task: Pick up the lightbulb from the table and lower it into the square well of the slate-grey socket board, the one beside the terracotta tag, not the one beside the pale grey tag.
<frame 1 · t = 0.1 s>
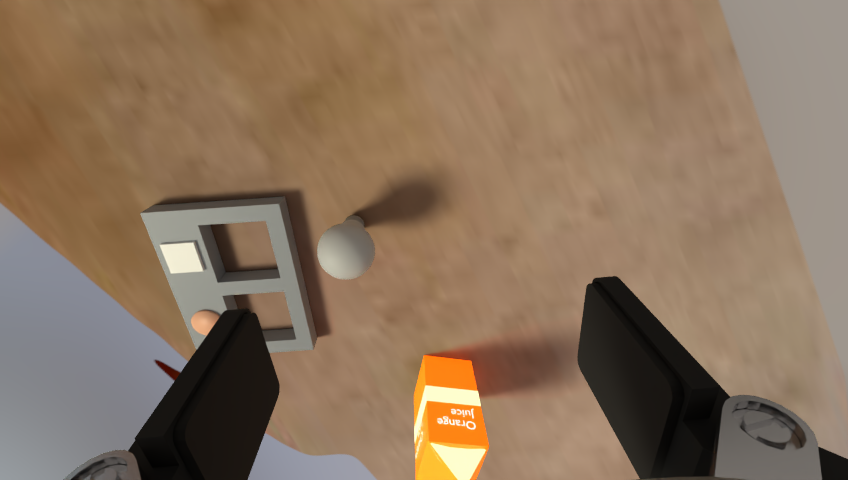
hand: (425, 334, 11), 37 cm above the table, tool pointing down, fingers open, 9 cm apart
socket board: (242, 277, 52), on the table
orange juice: (441, 377, 62), on the table
lightbulb: (355, 221, 49), on the table
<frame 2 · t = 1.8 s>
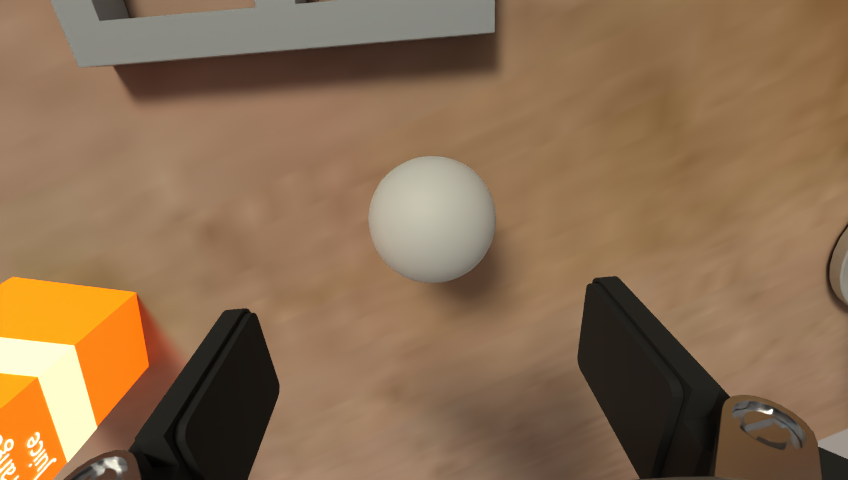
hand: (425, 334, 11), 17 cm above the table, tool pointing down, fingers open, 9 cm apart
orange juice: (87, 322, 31), on the table
lightbulb: (427, 173, 26), on the table
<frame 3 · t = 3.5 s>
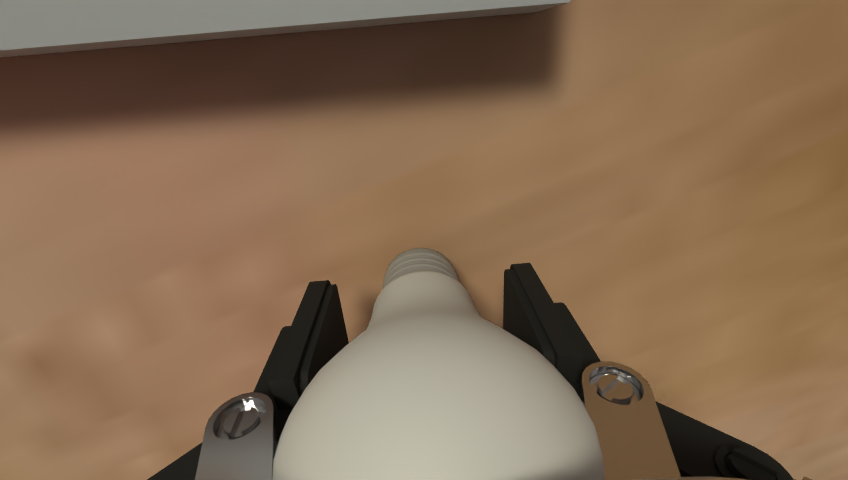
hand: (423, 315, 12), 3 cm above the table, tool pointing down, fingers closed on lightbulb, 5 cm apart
lightbulb: (418, 265, 15), on the table, touching gripper
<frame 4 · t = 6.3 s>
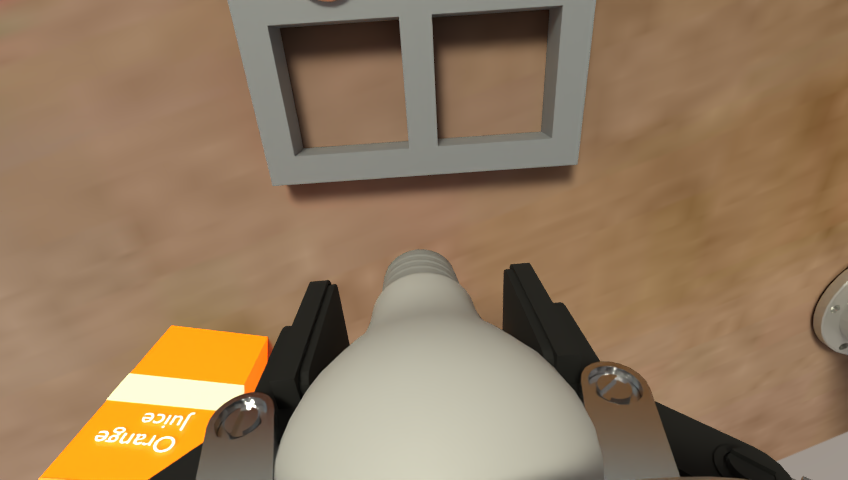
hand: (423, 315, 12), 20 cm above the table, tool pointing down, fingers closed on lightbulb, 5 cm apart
socket board: (416, 51, 27), on the table
orange juice: (222, 359, 38), on the table
lightbulb: (418, 266, 15), point 17 cm above the table, touching gripper
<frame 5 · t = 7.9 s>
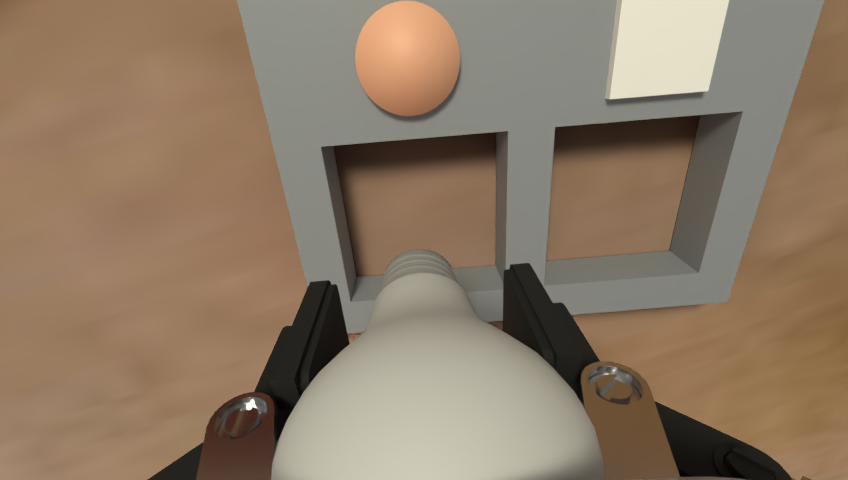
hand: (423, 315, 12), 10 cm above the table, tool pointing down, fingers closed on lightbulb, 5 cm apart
socket board: (515, 160, 20), on the table
lightbulb: (417, 266, 15), point 6 cm above the table, touching gripper
when the fingers open (4 cm above the table, at t = 9.2 s): lightbulb drops 1 cm, resting in socket board.
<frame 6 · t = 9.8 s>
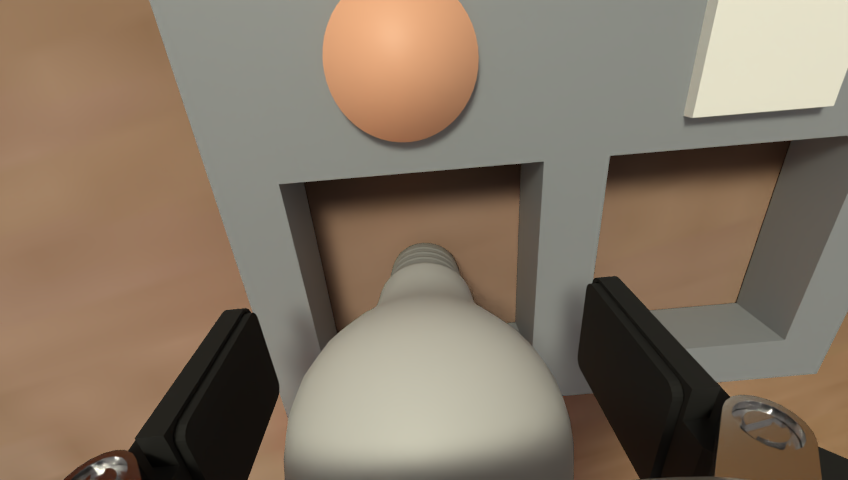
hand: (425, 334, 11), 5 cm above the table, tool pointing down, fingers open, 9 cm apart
socket board: (545, 194, 15), on the table
lightbulb: (424, 259, 16), resting in socket board
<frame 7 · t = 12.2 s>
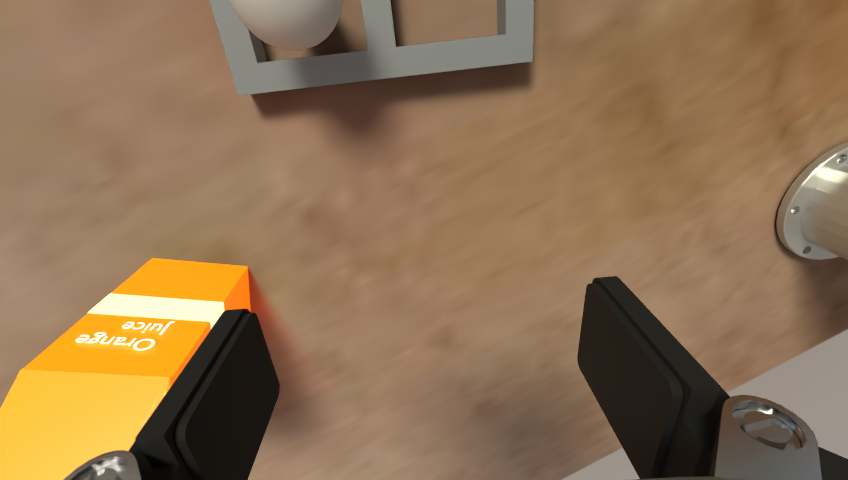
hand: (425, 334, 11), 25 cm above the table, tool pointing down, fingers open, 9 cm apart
orange juice: (205, 293, 39), on the table
lightbulb: (311, 2, 29), resting in socket board
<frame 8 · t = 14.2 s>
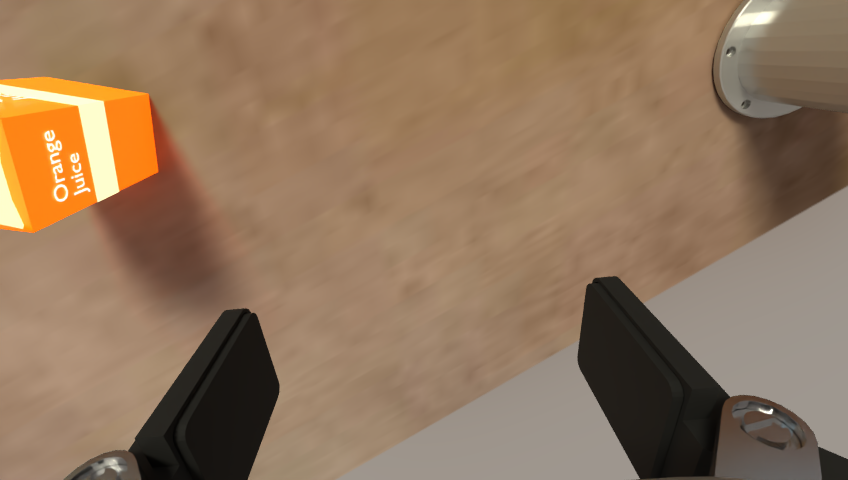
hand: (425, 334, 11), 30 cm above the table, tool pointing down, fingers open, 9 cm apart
orange juice: (106, 126, 37), on the table
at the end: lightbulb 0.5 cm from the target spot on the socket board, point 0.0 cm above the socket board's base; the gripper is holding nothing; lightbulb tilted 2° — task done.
